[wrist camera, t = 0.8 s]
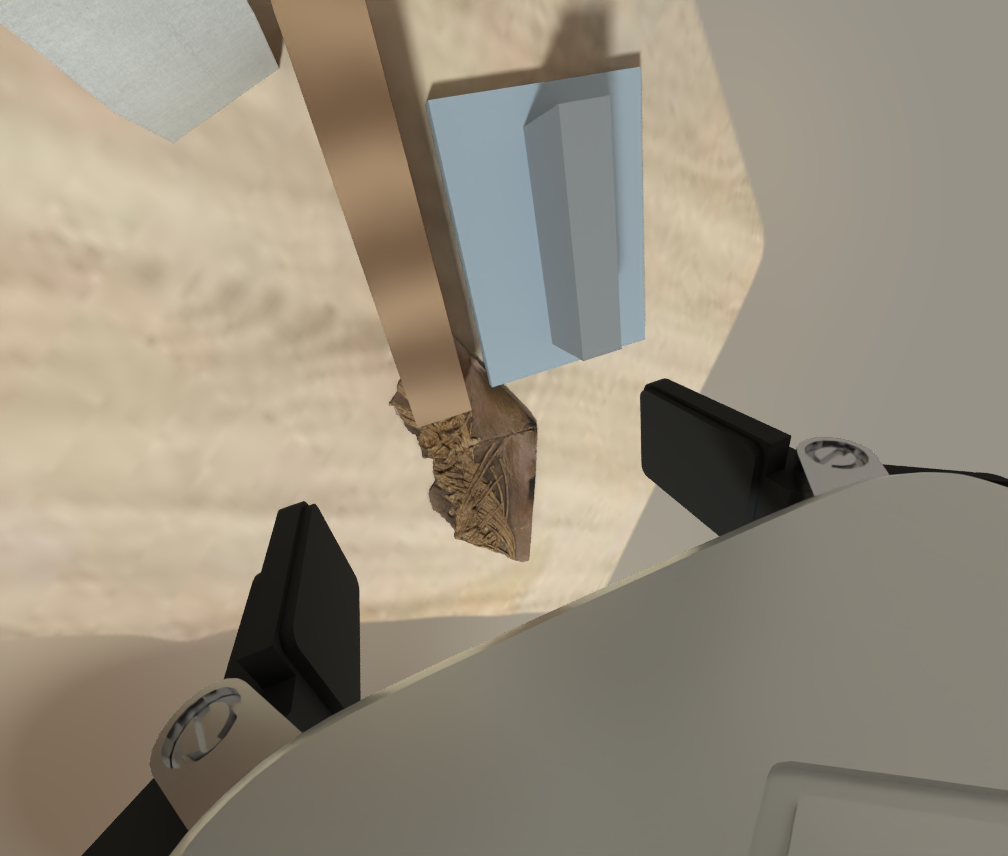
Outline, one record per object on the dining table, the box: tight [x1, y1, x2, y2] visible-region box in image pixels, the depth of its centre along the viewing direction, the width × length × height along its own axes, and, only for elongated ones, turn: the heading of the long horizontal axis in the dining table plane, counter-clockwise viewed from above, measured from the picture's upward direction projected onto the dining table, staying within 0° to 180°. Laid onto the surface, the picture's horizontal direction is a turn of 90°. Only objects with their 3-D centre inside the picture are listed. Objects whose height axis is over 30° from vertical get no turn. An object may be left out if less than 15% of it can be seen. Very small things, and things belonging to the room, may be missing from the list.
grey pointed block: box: [0, 0, 279, 143], centre depth 15 cm, size 4×7×10 cm, turn 121°
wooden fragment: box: [389, 335, 537, 562], centre depth 35 cm, size 26×11×1 cm, turn 13°
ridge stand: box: [426, 67, 645, 387], centre depth 26 cm, size 18×14×6 cm
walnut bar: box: [270, 0, 472, 428], centre depth 24 cm, size 22×4×4 cm, turn 11°
